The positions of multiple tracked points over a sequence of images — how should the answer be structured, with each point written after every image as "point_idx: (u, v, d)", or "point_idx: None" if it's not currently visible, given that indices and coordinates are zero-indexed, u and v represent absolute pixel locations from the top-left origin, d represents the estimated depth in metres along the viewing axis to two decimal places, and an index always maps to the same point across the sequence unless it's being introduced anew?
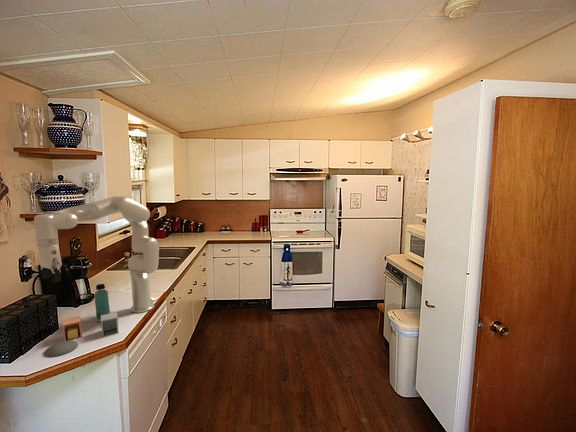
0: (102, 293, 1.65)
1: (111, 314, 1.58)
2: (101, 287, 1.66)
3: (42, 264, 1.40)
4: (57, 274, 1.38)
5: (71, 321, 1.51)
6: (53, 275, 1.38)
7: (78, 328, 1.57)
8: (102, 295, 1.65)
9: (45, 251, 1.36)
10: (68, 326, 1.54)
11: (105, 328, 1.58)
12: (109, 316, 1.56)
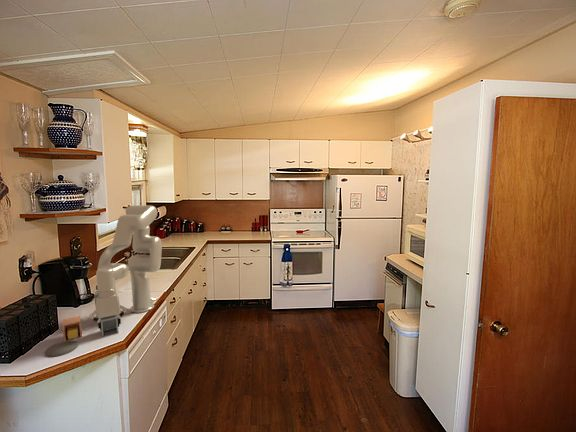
0: None
1: None
2: None
3: None
4: (98, 323, 1.54)
5: (71, 321, 1.51)
6: None
7: (78, 328, 1.57)
8: None
9: None
10: (68, 326, 1.54)
11: (105, 328, 1.58)
12: None
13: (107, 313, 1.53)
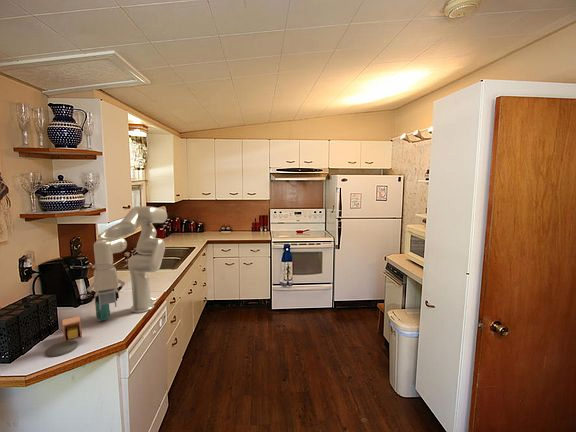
0: None
1: None
2: None
3: None
4: None
5: (71, 321, 1.51)
6: None
7: (78, 328, 1.57)
8: None
9: None
10: (68, 326, 1.54)
11: (103, 302, 1.57)
12: (107, 290, 1.54)
13: (105, 286, 1.52)
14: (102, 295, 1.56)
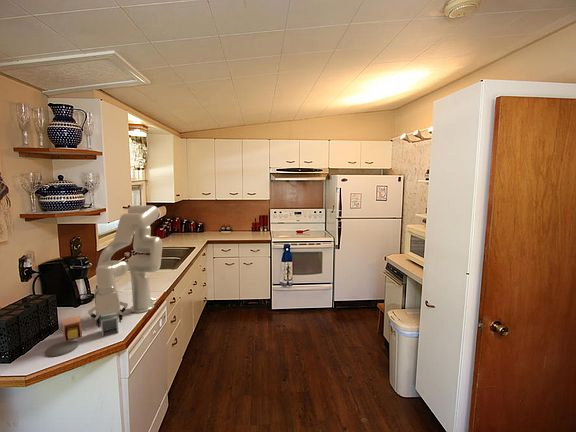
0: None
1: (111, 314, 1.58)
2: None
3: None
4: None
5: (71, 321, 1.51)
6: None
7: (78, 328, 1.57)
8: None
9: None
10: (68, 326, 1.54)
11: (105, 328, 1.58)
12: (109, 316, 1.56)
13: (107, 310, 1.53)
14: (104, 321, 1.58)
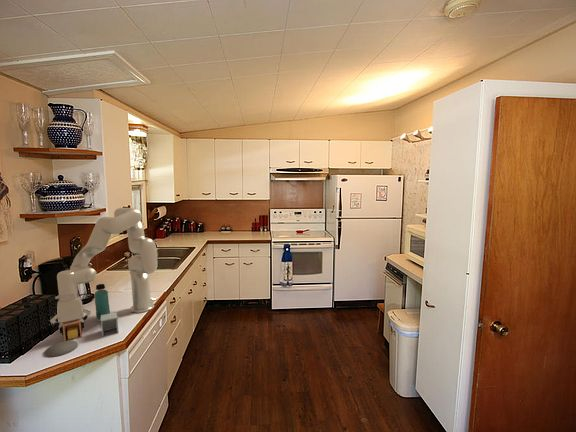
0: (102, 293, 1.65)
1: (111, 314, 1.58)
2: (101, 287, 1.66)
3: None
4: None
5: (71, 321, 1.51)
6: None
7: (78, 328, 1.57)
8: (102, 295, 1.65)
9: None
10: (68, 326, 1.54)
11: (105, 328, 1.58)
12: (109, 316, 1.56)
13: (69, 317, 1.49)
14: (104, 321, 1.58)
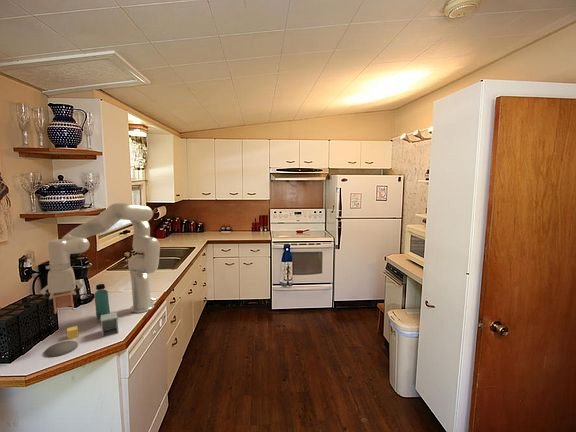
0: (102, 293, 1.65)
1: (111, 314, 1.58)
2: (101, 287, 1.66)
3: None
4: (50, 299, 1.43)
5: (63, 292, 1.44)
6: None
7: (70, 301, 1.49)
8: (102, 295, 1.65)
9: None
10: (59, 299, 1.47)
11: (105, 328, 1.58)
12: (109, 316, 1.56)
13: (60, 288, 1.42)
14: (104, 321, 1.58)
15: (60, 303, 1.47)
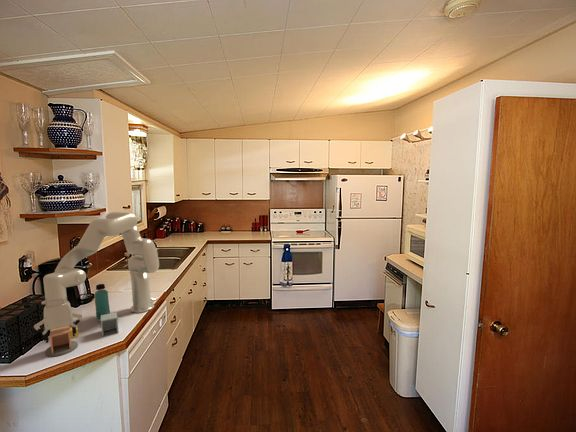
0: (102, 293, 1.65)
1: (111, 314, 1.58)
2: (101, 287, 1.66)
3: None
4: None
5: (60, 331, 1.40)
6: None
7: (67, 338, 1.45)
8: (102, 295, 1.65)
9: None
10: (56, 336, 1.42)
11: (105, 328, 1.58)
12: (109, 316, 1.56)
13: (57, 324, 1.37)
14: (104, 321, 1.58)
15: (57, 341, 1.43)
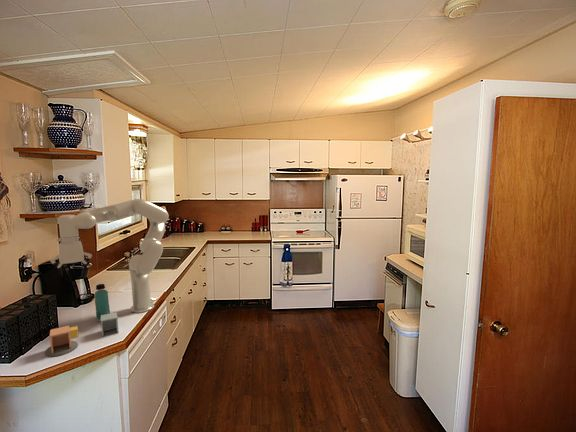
0: (102, 293, 1.65)
1: (111, 314, 1.58)
2: (101, 287, 1.66)
3: None
4: (58, 268, 1.56)
5: (60, 331, 1.40)
6: None
7: (67, 338, 1.45)
8: (102, 295, 1.65)
9: None
10: (56, 336, 1.42)
11: (105, 328, 1.58)
12: (109, 316, 1.56)
13: (70, 259, 1.56)
14: (104, 321, 1.58)
15: (57, 341, 1.43)
